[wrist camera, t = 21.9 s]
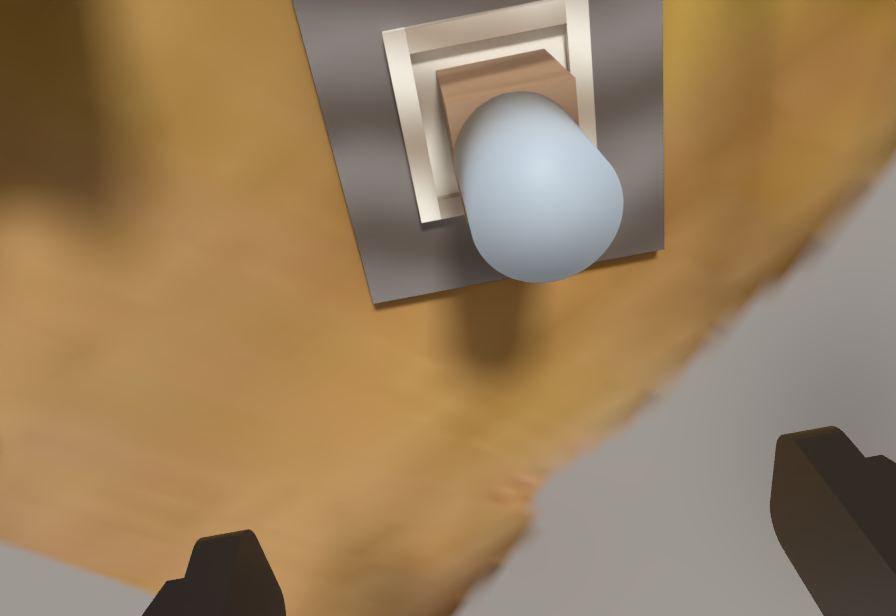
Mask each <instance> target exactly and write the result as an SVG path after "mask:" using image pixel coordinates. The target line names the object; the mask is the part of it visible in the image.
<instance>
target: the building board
mask: <svg viewBox="0 0 896 616" xmlns="http://www.w3.org/2000/svg"><path fill="white" fill-rule="evenodd" d="M293 4H294V8H295V12H296V15H297V19H298V23H299V27H300V30H301V34H302V38H303V42H304V45H305V49H306V53H307V57H308V60H309V64H310V68H311V72H312V75H313V79H314V83H315V87H316V90H317V94H318V98H319V102H320V105H321V109H322V113H323V117H324V120H325V124H326V128H327V132H328V135H329V139H330V143H331V147H332V150H333V154H334V158H335V161H336V165H337V169H338V173H339V176H340V180H341V184H342V188H343V191H344V195H345V199H346V203H347V206H348V210H349V214H350V218H351V221H352V225H353V229H354V233H355V236H356V240H357V244H358V248H359V251H360V255H361V259H362V263H363V266H364V270H365V274H366V278H367V281H368V285H369V289H370V293H371V296H372V300H373V304H375V303H380V302H386V301H391V300H396V299H402V298H407V297H412V296H418V295H423V294H428V293H434V292H439V291H444V290H450V289H455V288H460V287H466V286H471V285H476V284H482V283H487V282H492V281H498V280H503V279H508V278H510V277H507V276H505V275H504V274H502V273H500V272H498V271H497V270H496V269H494V268H493V267H492V266H491V265H489V264H488V263H487V262H486V261H485V259H484V258H483V257H482V256H481V254H480V253H479V251H478V249H477V248H476V245H475V243H474V241H473V238H472V234H471V230H470V226H469V223H466V219H465V215H464V211H463V206H462V202H461V198H460V194H459V190H458V186H457V182H456V178H455V174H454V168H453V162H452V157H451V151H450V146H449V140H448V135H447V129H446V124H445V118H444V113H443V107H442V102H441V96H440V91H439V85H438V80H437V74H436V70H441V69H446V68H451V67H456V66H461V65H465V64H470V63H475V62H480V61H485V60H490V59H495V58H500V57H505V56H510V55H515V54H520V53H525V52H530V51H535V50H540V49H545V50H546V51H547V52H548V53H550V54H551V55H552V56H553V57H554V58H555V59H556V60H557V61H558V62H559V63H560V64H561V65H562V66H563V67H564V68H565V69H566V70H567V71H569V72H570V73H571V74H572V75H573V76H574V77H575V78H576V91H577V104H578V116H579V127H580V129H581V130H582V131H583V132H584V133H585V135H586V136H587V137H588V138H589V139H590V141H591V142H592V143H593V144H594V145H595V146H596V148H597V149H598V150H599V151H600V152H601V154H602V155H603V156H604V157H605V158H606V160H607V161H608V162H609V163H610V164H611V166H612V167H613V169H614V170H615V172H616V174H617V176H618V178H619V181H620V184H621V187H622V192H623V214H622V219H621V223H620V226H619V229H618V231H617V233H616V236H615V238H614V239H613V241H612V243H611V244H610V246H609V247H608V248H607V250H606V251H605V252H604V253H603V254H602V255H601V256H600V257H599V258H598V259H597V260H596V261H595V262H599V261H604V260H610V259H615V258H620V257H626V256H631V255H636V254H642V253H647V252H652V251H658V250H663V249H664V144H663V4H662V0H293Z"/></svg>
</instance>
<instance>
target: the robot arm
mask: <svg viewBox="0 0 896 616" xmlns="http://www.w3.org/2000/svg"><path fill="white" fill-rule="evenodd" d="M770 513H771V518H772V523H773V527H774V530H775V533H776V535H777V538H778V540H779V542H780V544H781V546H782V548H783V549H784V551H785V553H786V555H787V556H788V558H789V559H790V561H791V563H792V564H793V566H794V568H795V569H796V571H797V573H798V574H799V576H800V578H801V579H802V581H803V582H804V584H805V586H806V587H807V589H808V591H809V592H810V594H811V595H812V597H813V599H814V601H815V602H816V604H817V605H818V607H819V609H820V610H821V612H822V614H823V615H824V616H896V463H895V462H893V461H892V460H890V459H888V458H887V457H885V456H883V455H878V456H873V457H867V458H865V457H864V456H863V455H862V453H861V452H860V451H859V450H858V448H857V447H856V446H855V445H854V444H853V443H852V441H851V440H850V439H849V438H848V437H847V436H846V435H845V433H844V432H843V431H841V430H840V429H839V428H837V427H834V426H829V427H823V428H818V429H812V430H806V431H801V432H795V433H790V434H784V435H781V436H780V437H779V438H778V440H777V444H776V452H775V461H774V471H773V481H772V490H771V500H770ZM142 616H286V610H285V603H284V598H283V594H282V591H281V589H280V586H279V584H278V582H277V580H276V578H275V576H274V574H273V571H272V569H271V567H270V565H269V563H268V561H267V559H266V557H265V554H264V552H263V550H262V548H261V546H260V544H259V542H258V539H257V537H256V536H255V534H254V533H253V531H251V530H249V529H248V530H242V531H237V532H231V533H226V534H220V535H215V536H209V537H203V538H200V539H199V540H198V541H197V542H196V544H195V546H194V548H193V551H192V554H191V557H190V561H189V564H188V567H187V571H186V574H185V577H184V578H181V579H176V580H170V581H166V583H165V584H164V586H163V587H162V588H161V590H160V591H159V593H158V594H157V595H156V597H155V598H154V599H153V601H152V602H151V604H150V605H149V607H148V608H147V609H146V611H145V612H144V613H143V615H142Z"/></svg>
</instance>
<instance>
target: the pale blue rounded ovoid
mask: <svg viewBox="0 0 896 616" xmlns="http://www.w3.org/2000/svg"><path fill="white" fill-rule="evenodd" d="M454 164H455V170H456V174H457V178H458V182H459V186H460V190H461V194H462V198H463V202H464V206H465V210H466V214H467V218H468V222H469V226H470V230H471V234H472V238H473V241H474V243H475V245H476V248H477V249H478V251H479V253H480V254H481V256H482V257H483V258H484V259H485V261H486V262H487V263H488V264H489V265H491V266H492V267H493V268H494V269H496V270H497V271H498V272H500V273H502V274H504V275H505V276H507V277H510V278H513V279H515V280H519V281H523V282H531V283H547V282H554V281H558V280H562V279H565V278H568V277H571V276H573V275H575V274H577V273H579V272H581V271H583V270H584V269H586V268H587V267H589V266H590V265H591V264H593V263H594V262H595V261H596V260H597V259H598V258H599V257H600V256H601V255H602V254H603V253H604V252H605V251H606V250H607V248H608V247H609V246H610V244H611V243H612V241H613V239H614V238H615V236H616V233H617V231H618V229H619V226H620V223H621V219H622V214H623V192H622V187H621V184H620V181H619V178H618V176H617V174H616V172H615V170H614V169H613V167H612V166H611V164H610V163H609V162H608V161H607V160H606V158H605V157H604V156H603V155H602V154H601V152H600V151H599V150H598V149H597V148H596V146H595V145H594V144H593V143H592V142H591V141H590V139H589V138H588V137H587V136H586V135H585V133H584V132H583V131H582V130H581V129H580V127H579V126H578V125H577V124H576V123H575V122H574V120H573V119H572V118H571V117H570V116H569V114H568V113H567V112H566V111H565V110H564V109H563V108H562V107H561V106H560V105H559V104H558V103H557V102H555V101H554V100H552V99H550V98H548V97H546V96H544V95H542V94H538V93H535V92H528V91H515V92H508V93H504V94H500V95H498V96H496V97H493V98H491V99H489V100H488V101H486V102H484V103H483V104H482V105H480V106H479V107H478V108H477V109H476V110H474V111H473V112H472V113H471V115H470V116H469V117H468V118H467V120H466V121H465V123H464V124H463V126H462V128H461V130H460V132H459V134H458V137H457V140H456V144H455V150H454Z"/></svg>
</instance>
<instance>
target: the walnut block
mask: <svg viewBox="0 0 896 616" xmlns="http://www.w3.org/2000/svg"><path fill="white" fill-rule="evenodd" d="M436 74H437V80H438V85H439V91H440V96H441V102H442V107H443V113H444V118H445V124H446V129H447V135H448V140H449V146H450V151H451V157H452V162H453V168H454V174H455V178H456V182H457V186H458V190H459V194H460V198H461V202H462V206H463V211H464V215H465V219H466V223H469V222H468V218H467V214H466V210H465V206H464V202H463V198H462V194H461V190H460V186H459V182H458V178H457V174H456V170H455V164H454V150H455V144H456V140H457V137H458V134H459V132H460V130H461V128H462V126H463V124H464V123H465V121H466V120H467V118H468V117H469V116H470V115H471V113H472V112H473V111H474V110H476V109H477V108H478V107H479V106H480V105H482V104H483V103H484V102H486V101H488V100H489V99H491V98H493V97H496V96H498V95H500V94H504V93H508V92H515V91H528V92H535V93H538V94H542V95H544V96H546V97H548V98H550V99H552V100H554V101H555V102H557V103H558V104H559V105H560V106H561V107H562V108H563V109H564V110H565V111H566V112H567V113H568V114H569V116H570V117H571V118H572V119H573V120H574V122H575V123H576V124H577V125H578V126H579V116H578V104H577V91H576V78H575V77H574V76H573V75H572V74H571V73H570V72H569V71H567V70H566V69H565V68H564V67H563V66H562V65H561V64H560V63H559V62H558V61H557V60H556V59H555V58H554V57H553V56H552V55H551V54H550V53H548V52H547V51H546V50H545V49H540V50H535V51H530V52H525V53H520V54H515V55H510V56H505V57H500V58H495V59H490V60H485V61H480V62H475V63H470V64H465V65H461V66H456V67H451V68H446V69H441V70H436Z"/></svg>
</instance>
